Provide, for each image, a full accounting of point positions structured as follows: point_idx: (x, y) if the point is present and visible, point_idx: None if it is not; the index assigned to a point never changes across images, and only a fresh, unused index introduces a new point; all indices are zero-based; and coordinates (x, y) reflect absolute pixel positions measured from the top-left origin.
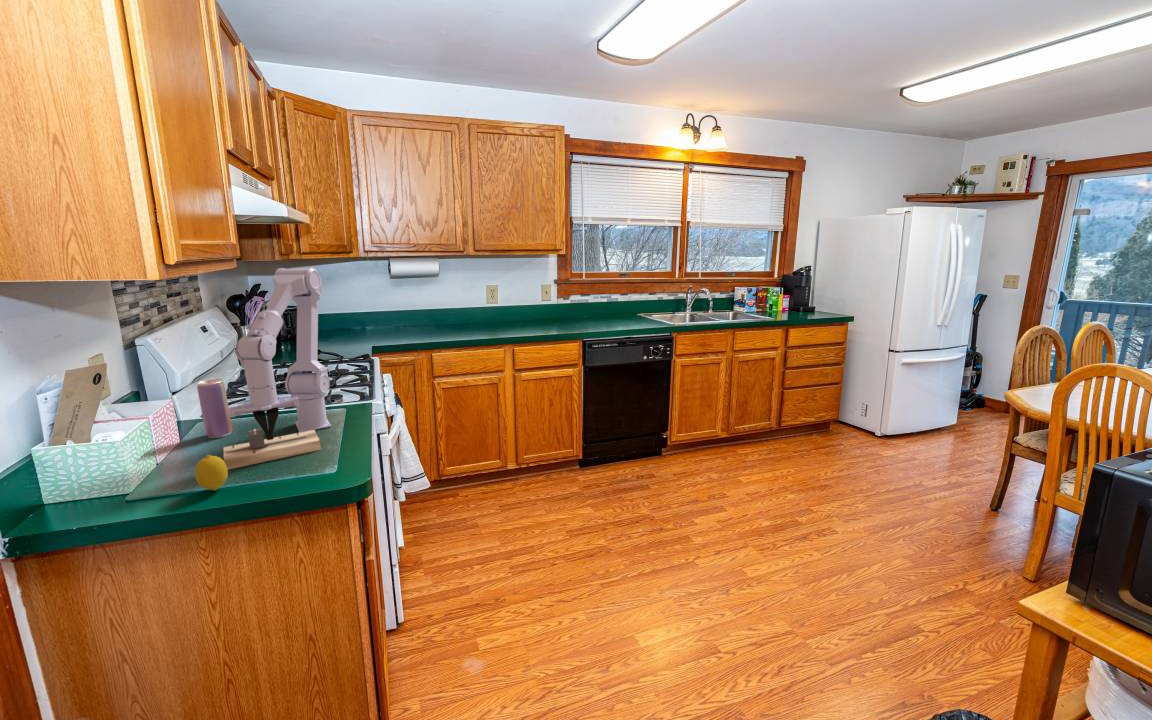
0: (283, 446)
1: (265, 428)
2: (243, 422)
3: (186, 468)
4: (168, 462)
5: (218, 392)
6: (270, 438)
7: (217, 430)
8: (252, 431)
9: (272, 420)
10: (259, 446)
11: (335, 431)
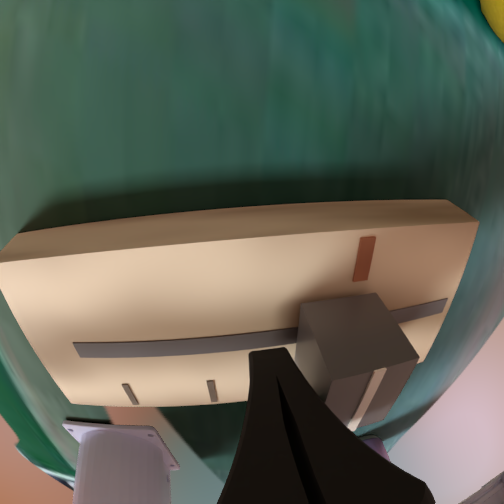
0: (185, 267)
1: (314, 419)
2: None
3: (490, 284)
4: (484, 337)
5: None
6: (268, 354)
7: None
8: (369, 412)
9: (262, 489)
10: (332, 304)
11: (33, 387)
